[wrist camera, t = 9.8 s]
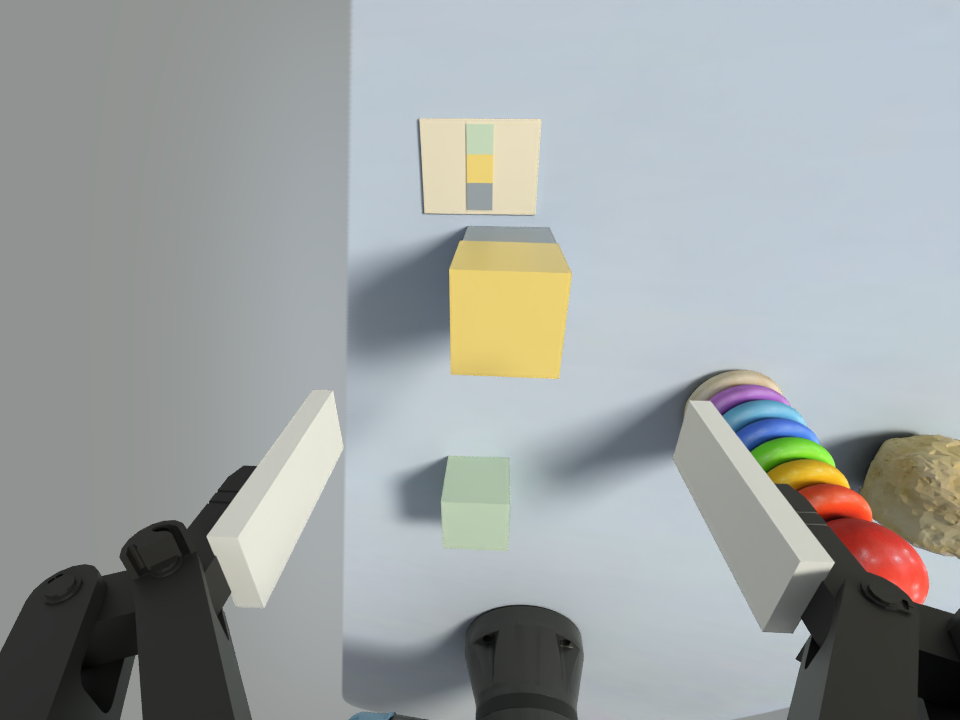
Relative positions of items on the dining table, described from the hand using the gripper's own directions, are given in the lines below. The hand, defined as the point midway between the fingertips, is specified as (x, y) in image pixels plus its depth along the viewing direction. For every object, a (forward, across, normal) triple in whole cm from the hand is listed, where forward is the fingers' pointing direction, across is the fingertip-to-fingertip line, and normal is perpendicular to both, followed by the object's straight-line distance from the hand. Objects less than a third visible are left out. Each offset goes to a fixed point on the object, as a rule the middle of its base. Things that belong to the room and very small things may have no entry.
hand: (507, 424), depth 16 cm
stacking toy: (+20, -20, +12) cm, 30 cm away
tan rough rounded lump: (+20, -37, +17) cm, 45 cm away
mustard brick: (+14, 0, -1) cm, 14 cm away
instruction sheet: (+19, +2, -7) cm, 21 cm away
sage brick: (+20, +2, +22) cm, 29 cm away
